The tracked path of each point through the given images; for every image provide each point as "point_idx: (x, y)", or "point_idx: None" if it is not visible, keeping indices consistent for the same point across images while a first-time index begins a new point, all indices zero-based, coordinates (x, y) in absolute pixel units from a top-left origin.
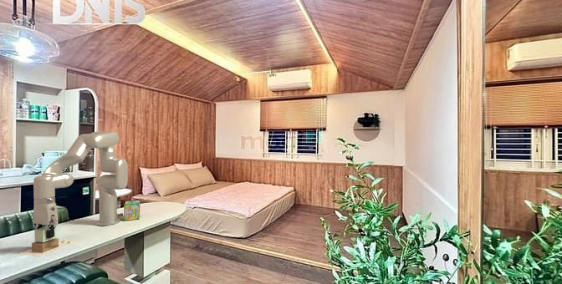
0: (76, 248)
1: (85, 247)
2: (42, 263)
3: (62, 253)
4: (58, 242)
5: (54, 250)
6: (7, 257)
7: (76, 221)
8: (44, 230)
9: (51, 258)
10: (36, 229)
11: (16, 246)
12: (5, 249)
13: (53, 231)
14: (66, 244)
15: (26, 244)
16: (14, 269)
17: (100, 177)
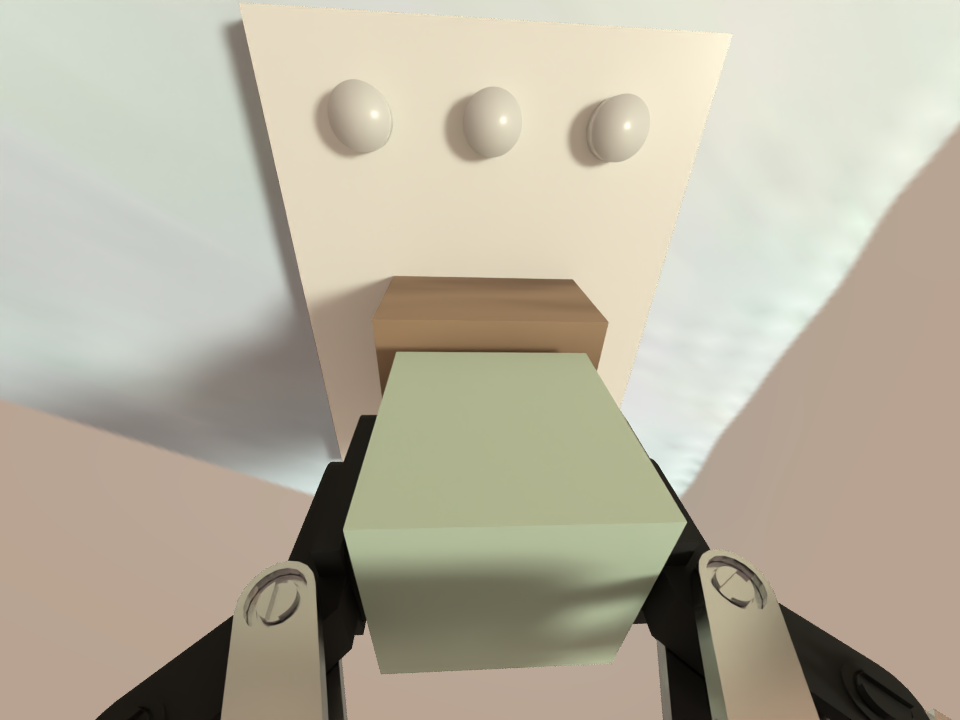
0: (783, 222)
1: (889, 170)
2: (678, 481)
3: (707, 348)
4: (589, 300)
5: (619, 363)
6: (310, 482)
7: None
8: (615, 650)
9: (682, 427)
10: (384, 659)
11: (6, 334)
12: (34, 404)
13: (688, 520)
14: (621, 205)
15: (15, 266)
16: None
17: None
